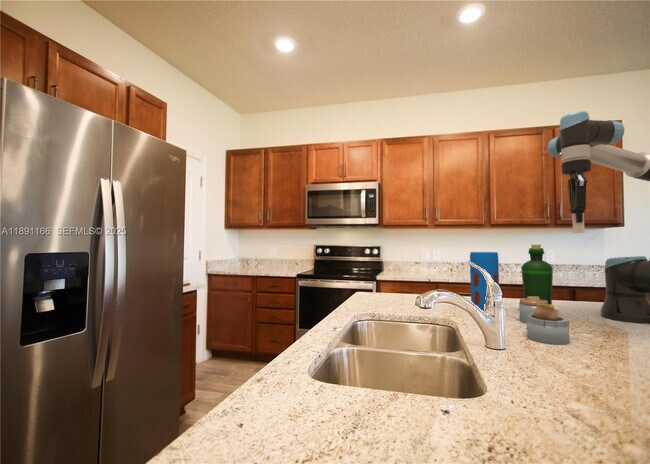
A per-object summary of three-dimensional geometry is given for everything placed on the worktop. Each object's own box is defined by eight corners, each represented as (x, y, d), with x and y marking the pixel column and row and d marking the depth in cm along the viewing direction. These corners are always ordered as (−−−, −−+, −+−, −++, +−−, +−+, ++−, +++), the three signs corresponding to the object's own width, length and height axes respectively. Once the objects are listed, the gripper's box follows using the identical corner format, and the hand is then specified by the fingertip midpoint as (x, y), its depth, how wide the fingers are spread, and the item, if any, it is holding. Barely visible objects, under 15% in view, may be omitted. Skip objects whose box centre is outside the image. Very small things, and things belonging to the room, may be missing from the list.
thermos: (488, 315, 128) (486, 253, 128) (465, 310, 137) (464, 252, 138) (505, 312, 133) (503, 252, 133) (482, 307, 142) (480, 251, 143)
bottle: (553, 313, 130) (551, 244, 131) (555, 319, 121) (553, 245, 122) (522, 310, 136) (520, 244, 136) (522, 315, 127) (520, 245, 127)
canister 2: (565, 336, 99) (564, 315, 100) (573, 346, 90) (572, 323, 90) (525, 332, 104) (524, 312, 104) (529, 341, 95) (528, 319, 95)
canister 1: (540, 319, 121) (539, 294, 121) (554, 325, 112) (553, 299, 112) (515, 318, 122) (514, 294, 122) (527, 324, 113) (526, 298, 113)
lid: (556, 321, 98) (555, 303, 99) (560, 326, 93) (559, 307, 93) (533, 319, 101) (532, 302, 101) (535, 323, 96) (535, 305, 96)
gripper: (557, 166, 112) (560, 233, 111) (566, 158, 100) (569, 233, 99) (584, 163, 108) (587, 233, 108) (596, 154, 97) (600, 232, 96)
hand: (578, 233), depth 104 cm, fingers closed
